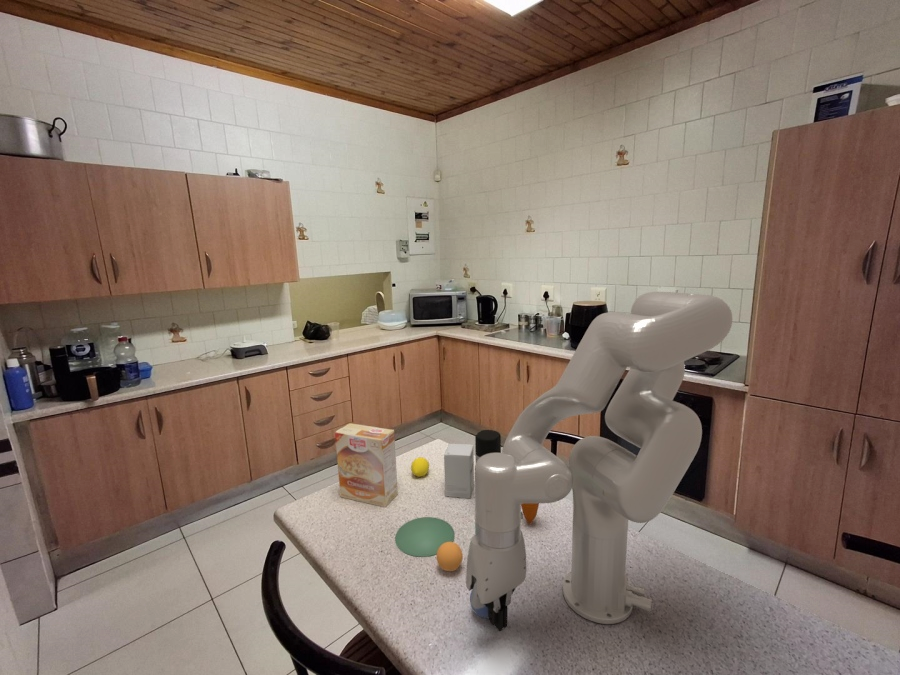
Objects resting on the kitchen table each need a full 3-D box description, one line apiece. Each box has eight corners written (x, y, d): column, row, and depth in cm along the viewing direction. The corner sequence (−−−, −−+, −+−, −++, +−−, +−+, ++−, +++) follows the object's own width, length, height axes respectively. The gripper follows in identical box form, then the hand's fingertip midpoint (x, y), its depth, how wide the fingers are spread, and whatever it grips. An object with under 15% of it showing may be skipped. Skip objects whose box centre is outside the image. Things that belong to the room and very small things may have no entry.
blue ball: (505, 607, 76) (503, 580, 76) (494, 629, 71) (492, 600, 71) (478, 598, 79) (476, 572, 78) (465, 619, 74) (463, 591, 73)
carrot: (535, 532, 97) (536, 474, 94) (516, 526, 99) (516, 469, 97) (542, 521, 101) (543, 465, 98) (523, 515, 104) (524, 460, 101)
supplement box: (471, 499, 111) (470, 456, 109) (444, 496, 113) (443, 454, 111) (474, 484, 118) (474, 444, 116) (449, 482, 120) (448, 442, 118)
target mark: (464, 527, 100) (464, 526, 100) (436, 564, 88) (436, 563, 88) (415, 512, 106) (415, 511, 106) (383, 545, 94) (383, 544, 94)
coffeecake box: (339, 497, 114) (333, 431, 111) (354, 484, 121) (349, 422, 117) (385, 508, 108) (381, 439, 105) (398, 494, 115) (395, 428, 111)
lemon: (424, 482, 121) (422, 467, 120) (408, 479, 123) (406, 464, 122) (433, 468, 128) (431, 453, 126) (417, 466, 130) (416, 451, 128)
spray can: (505, 502, 109) (505, 432, 106) (494, 515, 104) (493, 441, 100) (483, 495, 113) (482, 427, 109) (471, 507, 107) (470, 436, 104)
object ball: (467, 563, 88) (466, 540, 87) (455, 581, 83) (454, 557, 82) (444, 555, 90) (443, 533, 89) (432, 572, 85) (431, 548, 84)
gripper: (515, 502, 75) (515, 590, 78) (447, 533, 67) (450, 629, 70) (546, 523, 69) (544, 617, 72) (475, 560, 61) (476, 664, 64)
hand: (497, 623), depth 71 cm, fingers closed
